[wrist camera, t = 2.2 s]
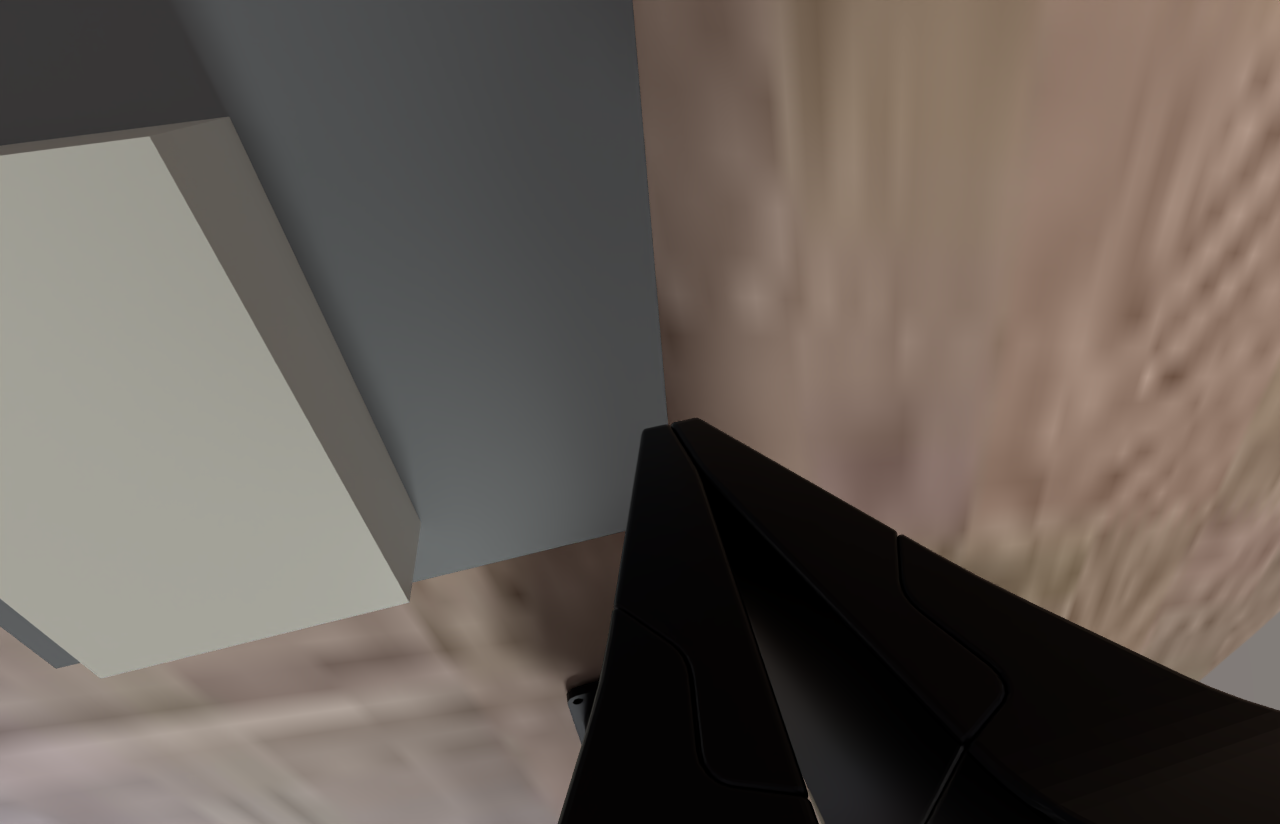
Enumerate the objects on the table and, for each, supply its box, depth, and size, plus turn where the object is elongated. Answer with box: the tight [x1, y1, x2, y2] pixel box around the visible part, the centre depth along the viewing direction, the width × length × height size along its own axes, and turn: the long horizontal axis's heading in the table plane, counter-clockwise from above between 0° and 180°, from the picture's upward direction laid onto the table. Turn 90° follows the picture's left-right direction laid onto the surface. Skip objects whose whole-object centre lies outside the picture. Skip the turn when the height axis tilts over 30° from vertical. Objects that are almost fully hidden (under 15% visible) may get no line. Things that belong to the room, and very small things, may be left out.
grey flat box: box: [0, 0, 668, 669], centre depth 12 cm, size 13×16×4 cm
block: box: [0, 117, 421, 679], centre depth 10 cm, size 9×6×2 cm, turn 6°
